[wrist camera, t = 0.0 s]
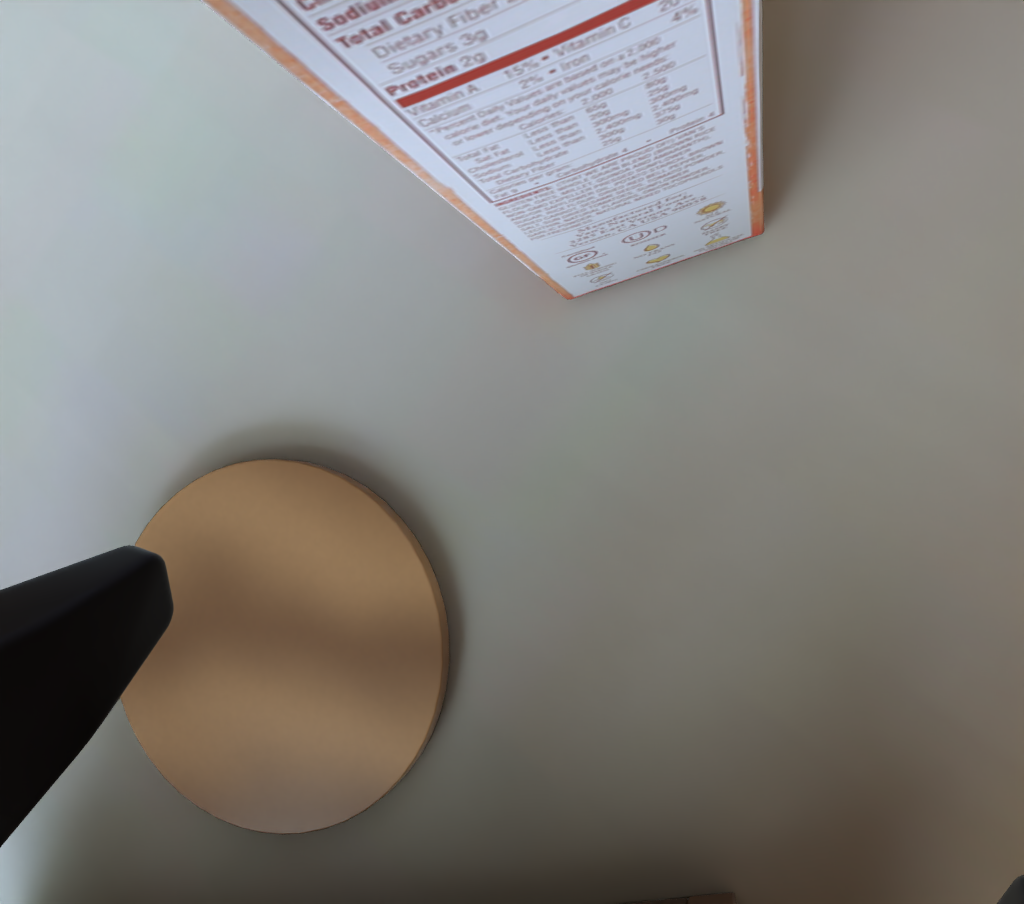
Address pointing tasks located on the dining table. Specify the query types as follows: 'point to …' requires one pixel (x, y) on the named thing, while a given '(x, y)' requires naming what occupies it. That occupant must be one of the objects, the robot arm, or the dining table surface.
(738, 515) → the dining table surface
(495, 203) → the cracker box
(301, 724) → the cork trivet
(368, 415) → the dining table surface
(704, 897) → the spice shelf
